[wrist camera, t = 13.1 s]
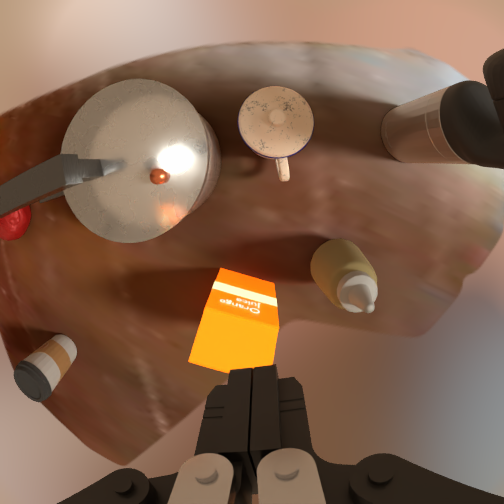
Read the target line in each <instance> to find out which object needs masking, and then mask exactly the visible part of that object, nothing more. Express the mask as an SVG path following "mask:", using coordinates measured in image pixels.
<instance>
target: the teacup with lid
mask: <svg viewBox="0 0 504 504" xmlns="http://www.w3.org/2000/svg"><path fill="white" fill-rule="evenodd" d="M238 129H239V133H240V135H241V138H242V139H243V141H244V142H245V144H246V145H247V146H248V147H249V148H250V149H251V150H252V151H253V152H255V153H256V154H257V155H259V156H261V157H264V158H267V159H275V161H276V166H277V171H278V176H279V179H280V180H281V181H288V180H289V177H290V175H289V167H288V161H287V157H289V156H292V155H294V154H296V153H298V152H299V151H301V150H302V149H303V148H304V147H305V146H306V145H307V144H308V142H309V141H310V139H311V136H312V134H313V130H314V116H313V112H312V110H311V108H310V106H309V104H308V103H307V101H306V100H305V99H304V98H303V97H302V96H301V95H300V94H298V93H297V92H295V91H294V90H291V89H289V88H286V87H281V86H269V87H264V88H261V89H259V90H257V91H255V92H253V93H252V94H251V95H249V96H248V97H247V98H246V100H245V101H244V102H243V104H242V106H241V108H240V110H239V113H238Z"/></svg>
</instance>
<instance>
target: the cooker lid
mask: <svg viewBox="0 0 504 504" xmlns="http://www.w3.org/2000/svg"><path fill="white" fill-rule="evenodd" d="M209 161H210V148H209V141H208V136H207V132H206V129H205V126H204V124H203V121H202V119H201V117H200V115H199V114H198V112H197V111H196V109H195V108H194V107H193V105H192V104H191V103H190V102H189V101H188V100H187V99H186V98H185V97H184V96H183V95H181V94H180V93H179V92H178V91H176V90H175V89H173V88H172V87H170V86H168V85H166V84H163V83H161V82H158V81H154V80H148V79H130V80H125V81H120V82H117V83H114V84H112V85H110V86H108V87H106V88H104V89H102V90H100V91H99V92H97V93H96V94H95V95H93V96H92V97H91V98H90V99H89V100H88V101H86V103H85V104H84V105H83V106H82V107H81V108H80V109H79V111H78V112H77V113H76V115H75V116H74V118H73V120H72V121H71V123H70V125H69V127H68V129H67V132H66V134H65V137H64V140H63V143H62V148H61V153H60V154H59V155H57V156H55V157H53V158H51V159H49V160H47V161H45V162H43V163H41V164H39V165H37V166H35V167H33V168H31V169H29V170H27V171H26V172H24V173H22V174H20V175H18V176H16V177H15V178H13V179H11V180H9V181H8V182H6V183H4V184H3V185H1V186H0V219H1V218H3V217H5V216H7V215H9V214H11V213H13V212H15V211H18V210H20V209H22V208H24V207H26V206H28V205H31V204H33V203H35V202H37V201H40V200H42V199H44V198H46V197H49V196H51V195H54V194H56V193H58V192H61V191H63V192H64V195H65V198H66V200H67V202H68V204H69V206H70V208H71V210H72V211H73V213H74V214H75V216H76V217H77V218H78V219H79V220H80V222H81V223H82V224H83V225H84V226H86V227H87V228H88V229H89V230H90V231H92V232H94V233H95V234H97V235H99V236H101V237H103V238H105V239H108V240H112V241H115V242H122V243H135V242H141V241H146V240H149V239H152V238H155V237H157V236H159V235H161V234H163V233H165V232H166V231H168V230H169V229H171V228H172V227H174V226H175V225H176V224H178V223H179V222H180V221H181V220H182V219H183V218H184V217H185V216H186V215H187V214H188V213H189V212H190V211H191V209H192V208H193V206H194V205H195V203H196V202H197V200H198V198H199V196H200V194H201V192H202V190H203V187H204V185H205V182H206V178H207V174H208V169H209Z"/></svg>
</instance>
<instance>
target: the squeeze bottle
mask: <svg viewBox="0 0 504 504" xmlns="http://www.w3.org/2000/svg"><path fill="white" fill-rule="evenodd" d="M310 267H311V275H312V277H313V279H314V281H315V283H316V284H317V285H318V287H319V288H320V289H321V290H322V291H323V293H324V294H325V295H326V296H327V297H328V299H329V300H330V301H331V302H332V303H333V304H334V305H336V306H337V307H338V308H340V309H345V310H348V311H350V312H355V313H356V312H362V311H364V312H366V313H371V312H372V311H373V310H374V302H375V299H376V297H377V276H376V274H375V271H374V269H373V268H372V266H371V265H370V263H369V262H368V260H367V259H366V258H365V256H364V255H363V253H362V252H361V250H360V249H359V248H358V247H357V246H356V245H355V244H354V243H352V242H351V241H348V240H345V239H341V238H340V239H332V240H329V241H327V242H325V243H324V244H322V245H320V247H319V248H318V249H317V250H316V251H315V253H314V254H313V257H312V260H311V263H310Z"/></svg>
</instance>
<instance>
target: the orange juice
mask: <svg viewBox="0 0 504 504" xmlns="http://www.w3.org/2000/svg"><path fill="white" fill-rule="evenodd" d="M278 330H279V322H278V313H277V300H276V294H275V285H274V283H271V282H268V281H264V280H261V279H258V278H254V277H251V276H247V275H244V274H240V273H237V272H233V271H230V270H227V269H223V268H220V271H219V273H218V276H217V278H216V281H215V282H214V285H213V287H212V291H211V293H210V296H209V298H208V301H207V303H206V306H205V308H204V312H203V316H202V319H201V322H200V325H199V329H198V332H197V335H196V338H195V342H194V345H193V348H192V351H191V355H190V358H189V361H188V362H191V363H194V364H198V365H201V366H204V367H208V368H211V369H215V370H219V371H222V372H226V373H229V372H230V370H231V369H241V368H250V367H252V368H253V369H254V367H258V366H266V365H272V363H273V358H274V352H275V346H276V340H277V334H278Z"/></svg>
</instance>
